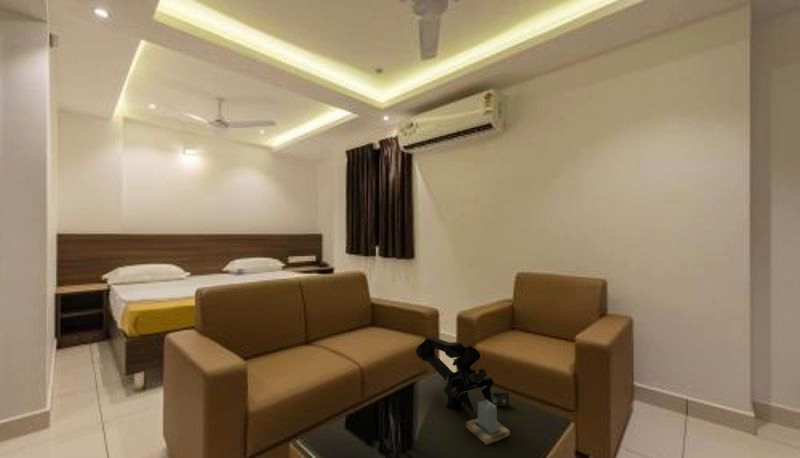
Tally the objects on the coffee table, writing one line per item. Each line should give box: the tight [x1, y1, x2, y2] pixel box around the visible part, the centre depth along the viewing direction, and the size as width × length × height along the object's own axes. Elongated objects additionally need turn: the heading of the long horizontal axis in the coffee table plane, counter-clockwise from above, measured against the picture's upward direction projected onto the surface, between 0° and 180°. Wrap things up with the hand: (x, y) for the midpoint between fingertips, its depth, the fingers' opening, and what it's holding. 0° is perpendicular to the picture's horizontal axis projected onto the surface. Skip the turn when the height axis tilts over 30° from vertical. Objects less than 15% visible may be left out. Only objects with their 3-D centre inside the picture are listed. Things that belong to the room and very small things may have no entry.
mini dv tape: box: [490, 391, 510, 407], centre depth 159 cm, size 8×2×6 cm, turn 84°
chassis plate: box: [465, 417, 511, 445], centre depth 140 cm, size 13×12×2 cm
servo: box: [475, 399, 500, 434], centre depth 140 cm, size 9×5×12 cm, turn 26°
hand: (482, 408), depth 142 cm, fingers open, 9 cm apart
